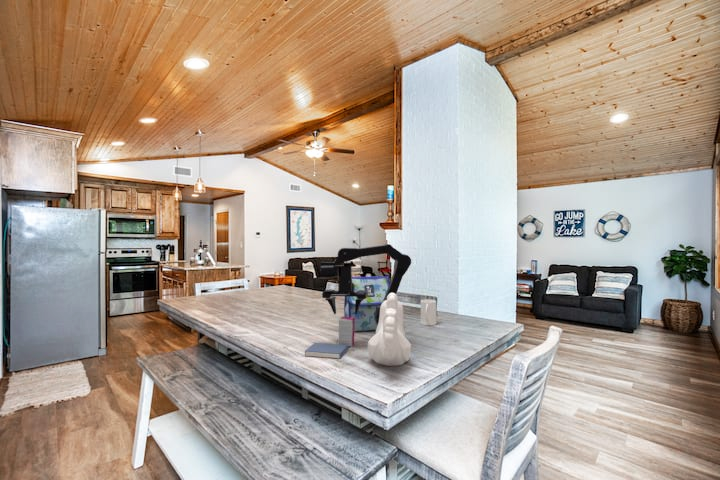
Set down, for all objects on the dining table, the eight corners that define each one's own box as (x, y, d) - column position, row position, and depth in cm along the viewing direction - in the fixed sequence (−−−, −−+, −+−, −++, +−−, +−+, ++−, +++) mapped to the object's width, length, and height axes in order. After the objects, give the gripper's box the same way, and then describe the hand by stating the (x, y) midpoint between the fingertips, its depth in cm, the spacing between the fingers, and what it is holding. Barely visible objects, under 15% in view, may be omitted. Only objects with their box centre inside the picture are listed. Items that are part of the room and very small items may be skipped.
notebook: (347, 349, 139) (347, 344, 139) (340, 359, 129) (340, 353, 129) (314, 347, 143) (314, 342, 143) (304, 356, 132) (304, 351, 132)
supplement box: (351, 348, 142) (351, 320, 142) (337, 347, 143) (337, 319, 143) (354, 343, 147) (354, 317, 147) (341, 343, 149) (341, 316, 149)
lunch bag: (349, 334, 162) (349, 278, 162) (342, 325, 178) (342, 275, 178) (394, 331, 167) (394, 277, 167) (383, 323, 184) (383, 274, 184)
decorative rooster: (375, 352, 137) (375, 289, 137) (415, 356, 132) (415, 291, 132) (354, 375, 113) (354, 299, 113) (402, 381, 108) (401, 302, 108)
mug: (433, 327, 175) (433, 303, 175) (416, 325, 178) (416, 302, 178) (438, 322, 186) (438, 300, 186) (422, 320, 189) (422, 299, 189)
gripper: (370, 275, 152) (370, 311, 152) (329, 275, 156) (330, 310, 156) (365, 278, 141) (365, 316, 141) (321, 278, 145) (322, 315, 145)
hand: (345, 314), depth 146 cm, fingers open, 9 cm apart
